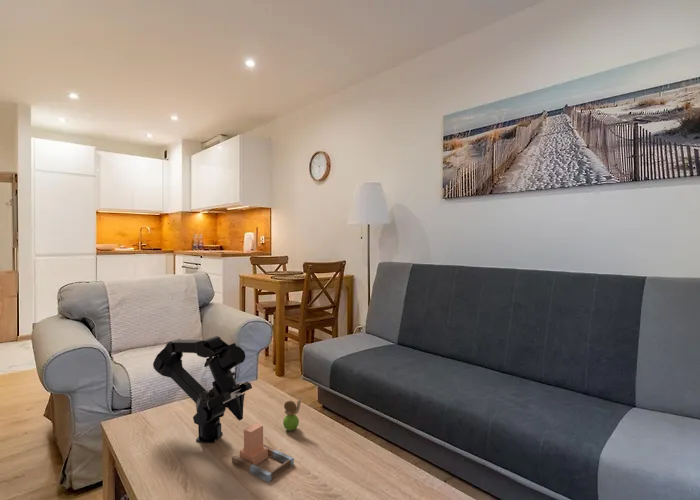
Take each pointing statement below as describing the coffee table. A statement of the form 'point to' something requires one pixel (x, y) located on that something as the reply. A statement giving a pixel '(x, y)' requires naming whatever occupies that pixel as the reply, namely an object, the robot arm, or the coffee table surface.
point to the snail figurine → (291, 414)
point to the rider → (254, 445)
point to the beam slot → (261, 472)
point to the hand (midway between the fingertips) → (240, 419)
